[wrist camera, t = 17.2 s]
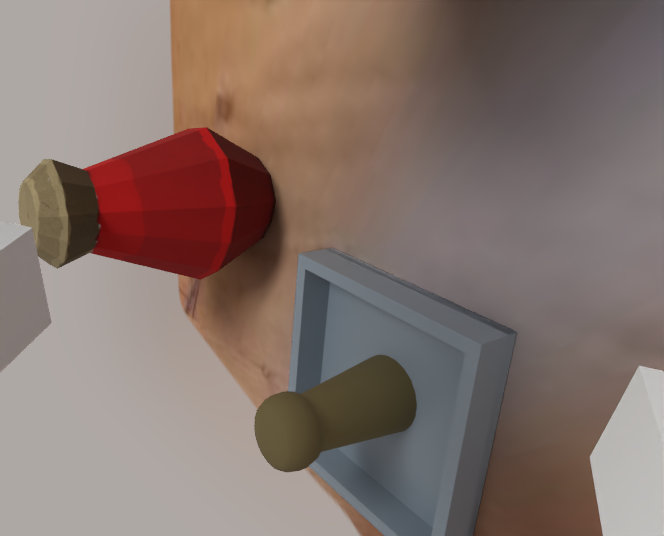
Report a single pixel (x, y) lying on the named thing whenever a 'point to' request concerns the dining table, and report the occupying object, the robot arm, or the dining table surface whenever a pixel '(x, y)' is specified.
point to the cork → (335, 413)
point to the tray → (429, 384)
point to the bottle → (153, 205)
